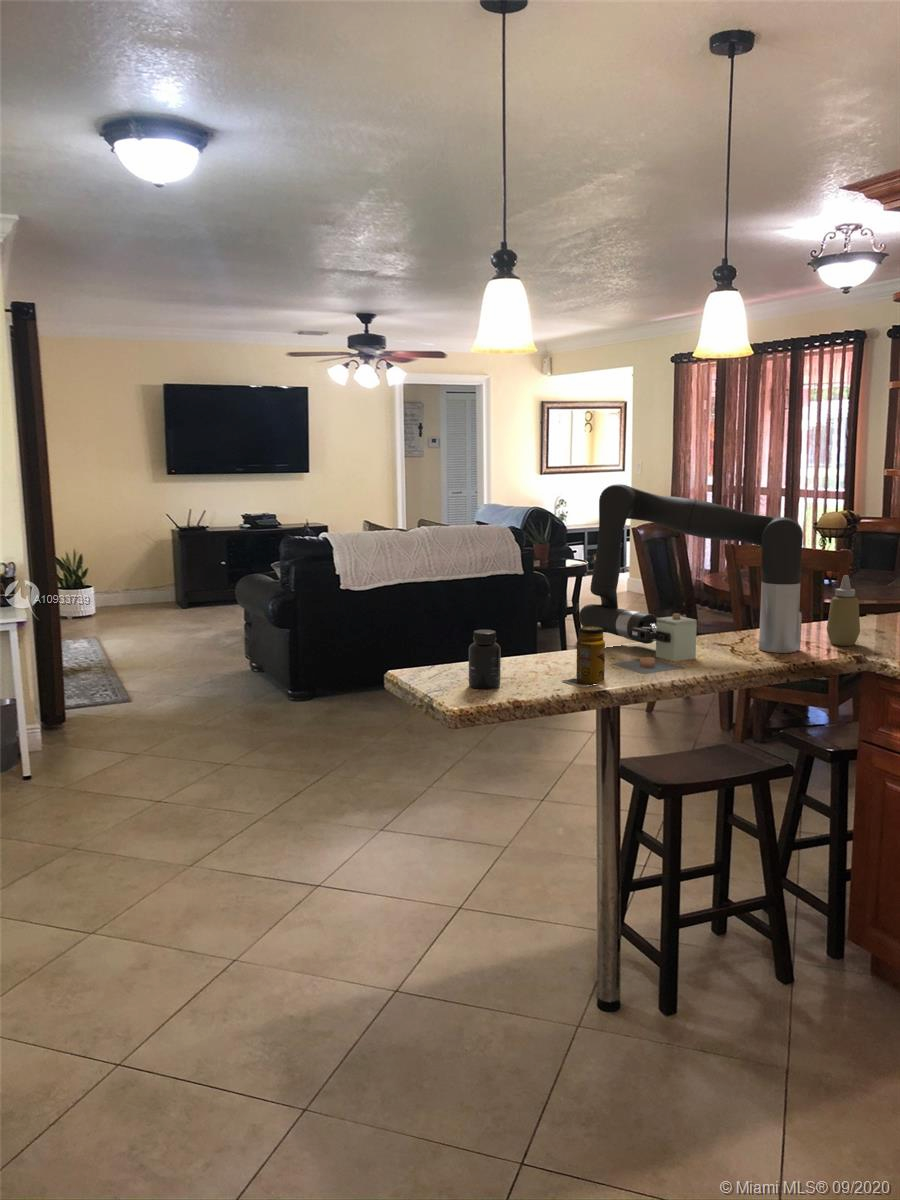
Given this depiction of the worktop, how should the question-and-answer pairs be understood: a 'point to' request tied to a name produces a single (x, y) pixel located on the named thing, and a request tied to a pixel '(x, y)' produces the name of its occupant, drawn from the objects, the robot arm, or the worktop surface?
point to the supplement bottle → (484, 661)
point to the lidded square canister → (677, 638)
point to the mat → (636, 667)
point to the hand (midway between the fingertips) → (682, 636)
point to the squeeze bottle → (844, 616)
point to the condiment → (589, 657)
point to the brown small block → (647, 661)
